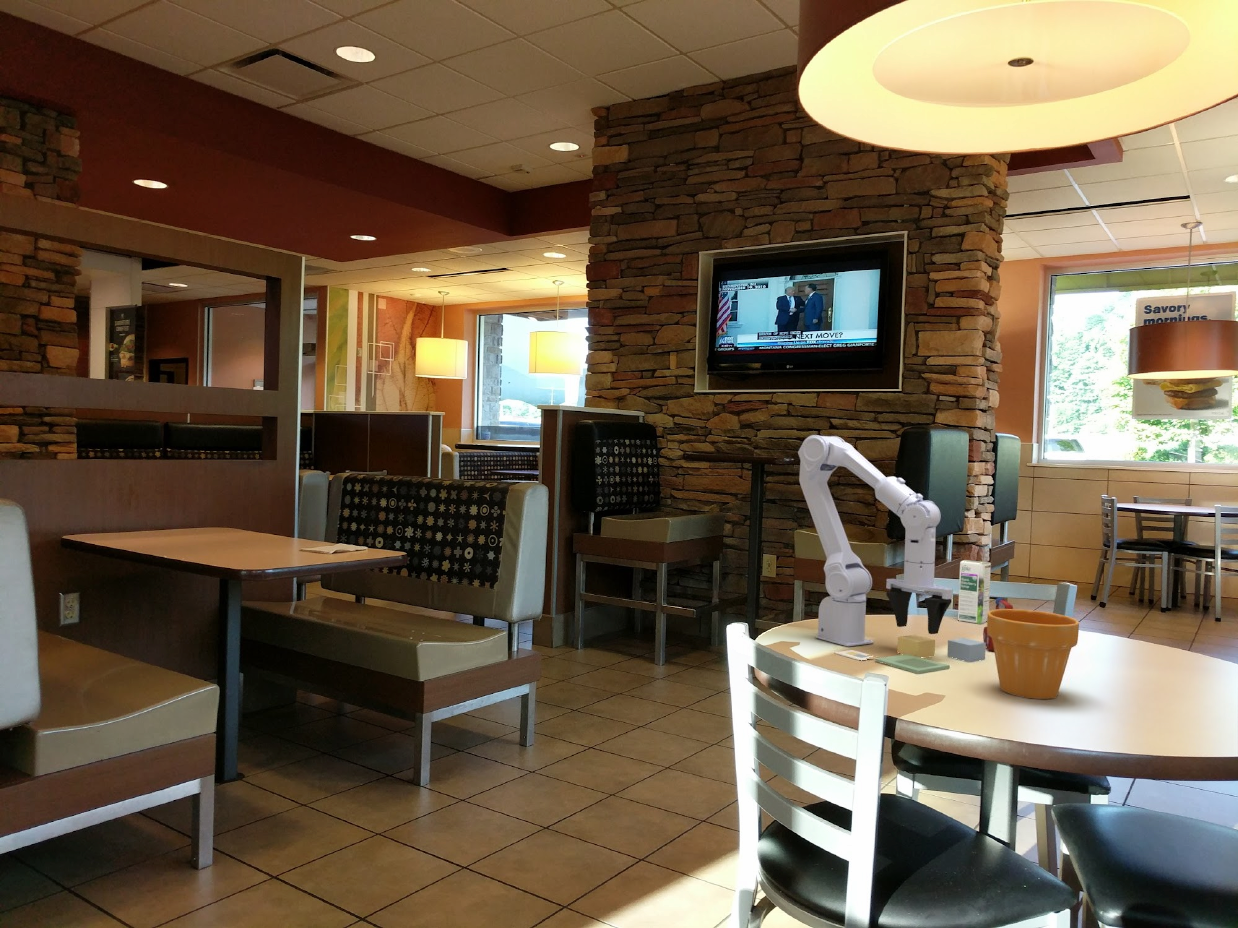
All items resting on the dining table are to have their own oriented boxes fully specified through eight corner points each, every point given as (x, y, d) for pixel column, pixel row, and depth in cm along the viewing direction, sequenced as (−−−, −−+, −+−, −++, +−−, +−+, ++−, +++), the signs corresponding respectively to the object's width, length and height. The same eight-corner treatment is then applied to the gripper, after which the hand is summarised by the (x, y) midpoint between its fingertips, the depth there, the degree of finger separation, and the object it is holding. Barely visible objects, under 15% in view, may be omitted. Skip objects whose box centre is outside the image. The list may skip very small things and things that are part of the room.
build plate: (875, 661, 171) (875, 658, 171) (906, 656, 176) (906, 653, 176) (918, 673, 163) (918, 670, 162) (949, 668, 167) (949, 665, 167)
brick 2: (947, 657, 177) (947, 640, 177) (962, 655, 180) (963, 637, 180) (969, 663, 173) (970, 645, 173) (985, 660, 176) (985, 642, 176)
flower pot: (1062, 685, 158) (1065, 611, 158) (1087, 707, 144) (1090, 627, 144) (977, 678, 161) (980, 606, 160) (993, 699, 147) (996, 621, 147)
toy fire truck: (1015, 644, 192) (1017, 595, 191) (1026, 657, 180) (1028, 605, 179) (980, 641, 193) (982, 593, 193) (989, 653, 181) (991, 602, 181)
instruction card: (834, 653, 177) (834, 651, 177) (852, 650, 180) (852, 649, 180) (861, 661, 171) (861, 659, 171) (879, 658, 174) (879, 657, 174)
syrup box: (956, 620, 216) (959, 561, 215) (965, 617, 220) (967, 559, 220) (981, 624, 212) (983, 563, 212) (989, 621, 217) (991, 561, 216)
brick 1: (897, 653, 179) (897, 636, 179) (914, 651, 182) (915, 634, 181) (917, 659, 175) (918, 641, 175) (934, 657, 177) (935, 639, 177)
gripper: (963, 565, 174) (961, 634, 174) (903, 556, 186) (901, 621, 186) (940, 567, 170) (938, 638, 170) (880, 558, 182) (878, 624, 182)
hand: (917, 629), depth 178 cm, fingers open, 7 cm apart
